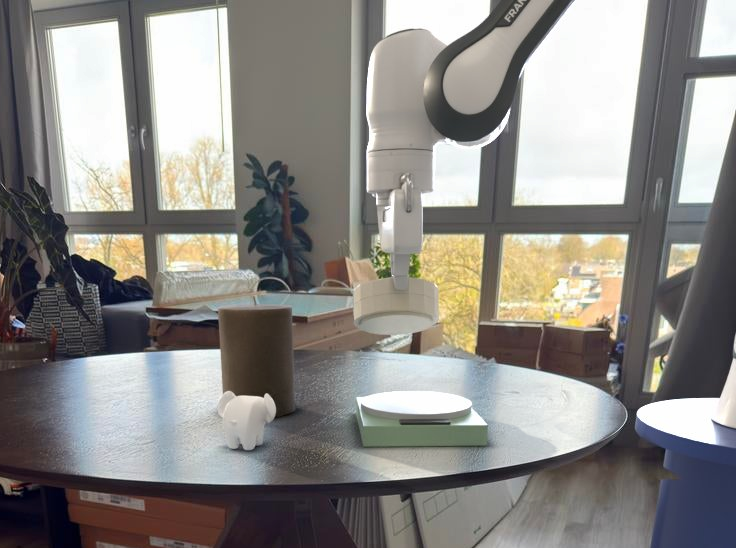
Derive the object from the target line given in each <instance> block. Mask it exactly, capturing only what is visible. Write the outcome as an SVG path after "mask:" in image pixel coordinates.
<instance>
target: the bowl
mask: <svg viewBox="0 0 736 548" xmlns="http://www.w3.org/2000/svg"><path fill="white" fill-rule="evenodd" d="M439 305H440V303H439V288H438V286H437V285H436V283H434V282H432V281H429V280H427V279H425V278H418V277H410V276H408V287H407V289H405V290H397V289H395V288H394V277H392V276H390V277H383V278H377V279H376V278H375V279H372V280H368V281H366V282H362V283H360V284H358V285H357V286H356V287H355V288H353V289H352V319H353V326H354V327H356V328H357V329H358V330H360V331H363V332H365V333H368V334H371V335H372V334H373V335H381V336H400V335H409V334H414V333H415V334H416V333H419V332H422V331H426V330H428V329H430V328H431V327H433V326H435V325H437V323H438V322H439V320H440V309H439V308H440V307H439Z"/></svg>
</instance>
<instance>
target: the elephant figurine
mask: <svg viewBox="0 0 736 548" xmlns="http://www.w3.org/2000/svg"><path fill="white" fill-rule="evenodd" d="M216 409H217V414H218V416H219V417H220V418H222V429H223V434H224V437H225V441H226V444H227V447H228V449H231V450H236V449H238V448H239V447H240V445H242V448H243V450H245V451H253V450H254V449H255V447H257V446H262V445H263V441H264V431H265V430H264V429H265V425H266V423H267V424H270V423H272V422H273V420H274V419H275V418H276V417H275V414H276V406H275V403H274V401H273V399H272V398H271V397H270V396H269V394H265V396H264V398H262V397H257V396H235V394H234V393H233V392H231V391H227V392H225V393H224V394H223V393H222V394H221V396H220V397H219V399H218V402H217V404H216Z"/></svg>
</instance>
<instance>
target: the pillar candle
mask: <svg viewBox="0 0 736 548" xmlns="http://www.w3.org/2000/svg"><path fill="white" fill-rule="evenodd" d="M252 299H253V304H246V303H245V304H228V305H222V306H218V307H217V319H218V332H219V334H218V335H219V347H220V348H219V350H220V351H219V352H220V364H221V365H220V366H221V367H220V369H221V388H222V395H223V394H224V393H225V392H227V391H231V392H233V393H234V394H235V396H257V397H262V398H264V396H265V394H269V396H270V397H271V398H272V399H273V401H274V403H275V406H276V414H275V417H274V418H276V417H277V418H280V417H283V416H286V415H289V414H292V413H294V412H295V411H296V385H295V383H296V381H295V357H294V356H295V355H294V353H295V352H294V351H295V350H294V328H293V325H294V324H293V306H292V305H289V304H278V303H277V304H274V303H272V304H271V303H270V304H269V303H268V304H267V303H266V304H265V303H264V304H262V303H257V300H256V297H255V295H253V296H252Z"/></svg>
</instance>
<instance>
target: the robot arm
mask: <svg viewBox="0 0 736 548" xmlns="http://www.w3.org/2000/svg"><path fill="white" fill-rule="evenodd" d="M577 1H578V0H500V1H499V2H498V3H497V5H496V6H495V7H494V8H493V10H492V11H491V12H490V14H489V15H488V16H486V17H485V19H484V20H482V22H480V23H479V24H478V25H477V26H475V28H473V29H472V30H470V31H468V32H467V33H465V34H463V35H462V36H460V37H458V38H457V39H455V40H454V41H452V42H451V43H449V44H448V45H447V44H446V43H444V42H442V41H441V40H440V39H438V38H437V37H436V36H434V34H432V32H431V31H430V30H428V29H426V28H425V29H424V28H406V29H402V30H401V29H400V30H398V31H395V32H392V33H390V34H388V35H386V36H385V37H383V38H382V39H380V40H379V41H378V42H377V44H375V46H374V47H373V50H372V52H371V55H370V58H369V64H368V72H367V83H366V120H367V123H368V128H369V138H368V140H369V141H368V143H367V144H368V145H367V149H366V193H368V194H371V195H372V197H373V198H376V213H377V223H378V233H379V234H378V235H379V242H380V248H381V251H382V252H383V253H388V254H389V265H390V273H391V277H394V288H395V289H397V290H405V289H407V287H408V277H409V272H410V264H411V255H418V254H421V252H422V249H423V239H424V238H423V235H424V234H423V231H424V230H423V228H424V225H423V223H424V222H423V221H424V220H423V219H424V218H423V217H424V216H423V215H424V213H423V210H424V209H423V208H424V206H425V194H429V193H433V192H435V173H436V147H437V145H438V144H444V145H449V146H454V147H456V148H460V149H464V150H475V149H479V148H482V147H485V146H487V145H488V144H490V143H491V142H493V141H495V139H496V138H497V137H499V135H500V134H501V133H502V132H503V131H504V129H505V127H506V125H507V123H508V120H509V116H510V112H511V109H512V108H511V107H512V104H513V102H514V98H515V95H516V92H517V88H518V84H519V80H520V79H521V76H522V73H523V71H524V70H525V68H526V65H527V64H528V63H529V61H530V60H531V58H533V56H534V54H535V53H536V52H537V51H538V50H539V48H540V47H541V46H542V44H543V43H544V42H545V41H546V39H547V38H548V37H549V36H550V34H551V33H552V32H553V31H554V29H556V27H557V25H558V24H559V23H560V22H561V20H562V19H563V18H564V17H565V15H566V14H567V13H568V11H570V9H571V8H572V7H573V5H575V3H577ZM719 398H720V399H719V401H718V403H717V405H716V407H715V409H714V411H713V413H712V415H711V419H712V420H713V421H715V422H717V423H719V424H722V425H725V426H728V427H731V428H735V429H736V333H735V335H734V340H733V347H732V361H731V365H730V369H729V372H728V375H727V378H726V381H725V384H724V386H723V389H722V391H721V395H720V397H719Z"/></svg>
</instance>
